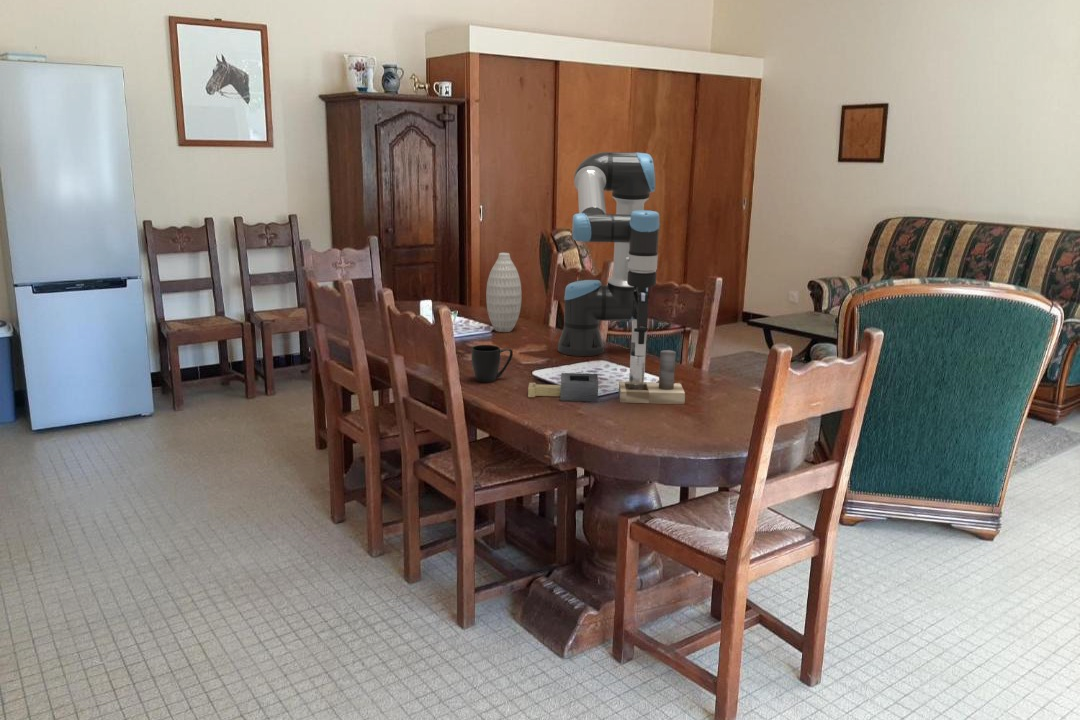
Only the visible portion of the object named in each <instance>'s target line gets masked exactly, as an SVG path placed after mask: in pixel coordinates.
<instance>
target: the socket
mask: <svg viewBox="0 0 1080 720" xmlns="http://www.w3.org/2000/svg"><path fill="white" fill-rule="evenodd" d="M599 383H600V382H599V376H598V373H579V372H578V373H576V372H575V373H573V372H561V373H560V385H561V396H560V399H559V400H560V402H590V403H591V402H592V403H593V402H597V403H598V401H599V386H600V385H599Z"/></svg>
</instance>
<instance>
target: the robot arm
mask: <svg viewBox="0 0 1080 720" xmlns="http://www.w3.org/2000/svg"><path fill="white" fill-rule="evenodd" d="M654 165H655V164H654V159H653V157H652V156H651V154H649V153H644V152H637V151H636V152H635V151H634V152H631V151H630V152H629V151H628V152H624V151H622V152H621V151H620V152H610V151H609V152H608V151H603V152H602V151H601V152H598V153H594V154H592V155H590V156H588V157H587V158H585V159H584V160H583V161H581V162H580V164H579V165H578V167H577V168H576V170H575V173H574V175H573V176H574V177H573V181H574V183H573V184H574V187H575V189H576V191H577V195H578V196H577V197H578V199H577V200H578V213H575V214H573V216H572V231H571V232H572V235H571V236H572V239H573V240H574V241H576V242H582V243H583V242H584V243H614V244H613V245H614V248H613V264H612V265H613V266H612V275H611V276H610V277H609V278H608V279H607V284H602V282H601V281H600V280H598V279H584V280H578V281H577V280H576V281H574V282H573V281H572V282H570V283H568V284H567V285H566V287H565V290H564V298H563V300H564V315H563V316H564V318H563V322H564V323H563V329H562V331H561V334H560V338H559V340H558V344H557V351H558V352H559V353H560V354H563V355H565V356H566V355H568V356H573V357H574V356H575V357H593V356H599V355H602V354H603V353H604V350H605V347H604V346H605V345H604V342H603V338H602V334H601V331H600V321H603V322H604V321H606V322H627V323H629V322H631V324H632V325H631V342H630V344H631V343H633V342H635V356H645V357H646V354H647V353H646V351H647V350H646V349H647V332H648V331H649V328H648V325H649V324H648V320H649V319H648V316H649V315H648V309H649V299H650V293H649V288H653V287H655V286H656V284H657V272H656V271H657V270H658V259H659V258H658V257H659V256H658V254H659V253H658V246H659V235H660V234H659V233H660V226H661V225H660V213H659V212H658V211H653V210H648V209H646V210H645V209H644V208H645V203H646V202H647V201H648V200H649V199H650V194H651V193H654V192H655V191H656V174H655V166H654ZM606 191H607V192H611V197H612V199H614V200H615V202H616V204H615V205H616V209H615V213H613V214H611V213H608V214H607V209H606V199H605V192H606Z"/></svg>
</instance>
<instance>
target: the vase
mask: <svg viewBox="0 0 1080 720" xmlns="http://www.w3.org/2000/svg"><path fill="white" fill-rule="evenodd" d="M485 293H486V294H485V295H486V296H485V297H486V309H487V314H488V318H489V320H490V323H491V325H492V328H493V329H494V330H495V331H496V332H498V333H509V332H510V333H511V332H512V331H513V329H514V328H515V326H516V324H517V322H518V320H519V316H520V313H521V307H522V282H521V277H520V275H519V271H518V269H517V267H516V265H515V264H514V262H513V261H512V258H511V255H510V253H509V252H499V253H498V257H497V259H496V260H495V263H494V265H493V266H492V268H491V270H490V272H489V275H488V278H487V282H486V292H485Z"/></svg>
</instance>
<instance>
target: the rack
mask: <svg viewBox="0 0 1080 720" xmlns="http://www.w3.org/2000/svg"><path fill="white" fill-rule="evenodd" d="M676 354H677V352H676V351H674V350H671V349H667V350H665V349H663V350H661V351H660V354H659V355H660V356H659V357H660V358H659V371H658V373H659V376H658V382H652V381H651V382H645V381H644V390H629V381H618V391H619V392H618V396H619V402H620V403H624V404H625V403H628V404H629V403H631V404H634V403H635V404H657V405H658V404H661V405H685V402H686V401H685V399H686V392H685V390H684V388H683V386H682V383H680V382H675V370H676Z"/></svg>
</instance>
